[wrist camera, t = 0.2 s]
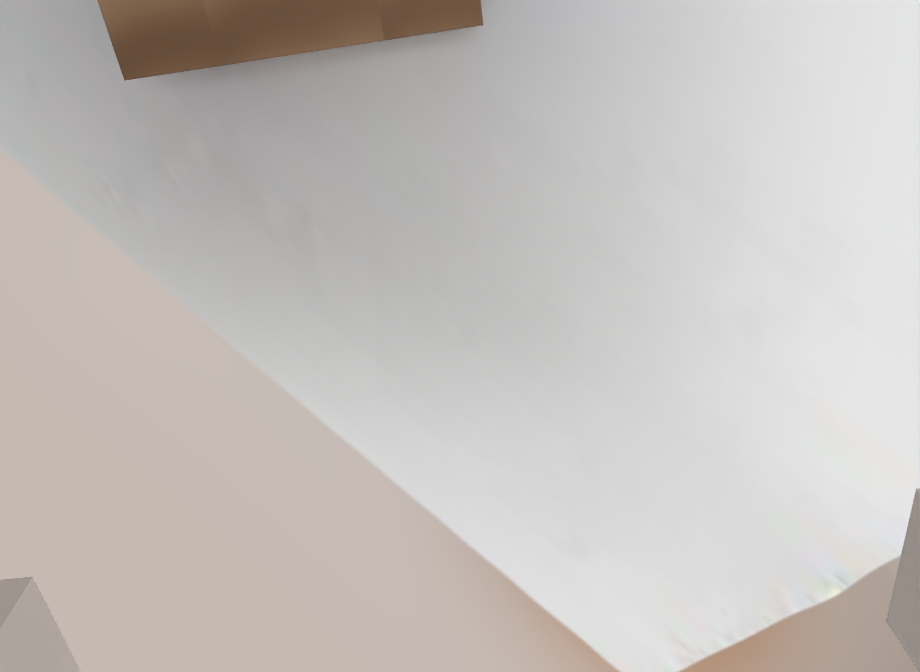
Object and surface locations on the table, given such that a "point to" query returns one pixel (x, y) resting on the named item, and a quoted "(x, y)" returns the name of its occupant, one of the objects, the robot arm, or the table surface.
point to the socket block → (263, 28)
